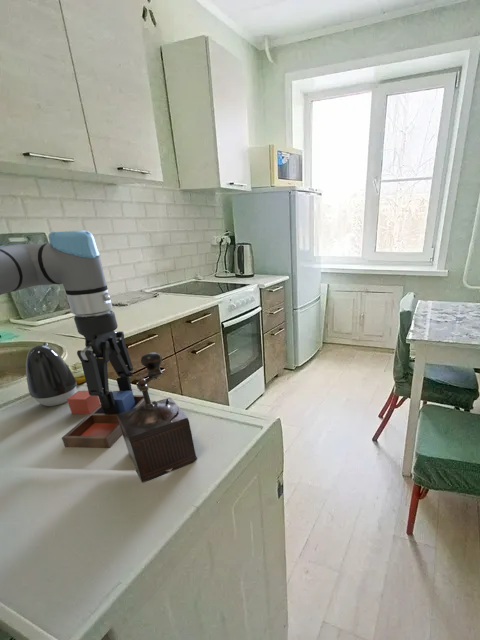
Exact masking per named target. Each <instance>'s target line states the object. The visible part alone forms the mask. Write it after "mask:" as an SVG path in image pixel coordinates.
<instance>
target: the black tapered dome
mask: <svg viewBox="0 0 480 640" xmlns="http://www.w3.org/2000/svg"><path fill="white" fill-rule="evenodd" d="M68 365H69V364H67V362H66V361H65V360H64V359H63V357H62V356H61V355H60V353H58V352H57V351H56V350H54V349H53V348H52V347H51V346H49V343H48V342H43V343H42V344H36V345H34V346H33V347H31V348H30V349H29V350H28V351H27V355H26V360H25V377H26V378H25V379H26V383H27V388H28V393H29V395H30V396H31V398H33V399H34V400H35V401H36V402H37V403H38V404H39V405H42V406H45V407H54V406H59V405H62V404H65V403H68V401H67V399H68V398H69V397H71V396H72V395H74V394H75V393H76V392H77V386H78V384H77V382H76V379H75V377H74V375H73V374H72V372H71V370H70V368H69V367H68Z"/></svg>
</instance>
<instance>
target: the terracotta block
mask: <svg viewBox="0 0 480 640" xmlns="http://www.w3.org/2000/svg"><path fill="white" fill-rule="evenodd" d="M67 401H68V402H67V404H68V407H69V409H70V413H71V415H89V414H90V413H91V412H93V411H94V410H95V409H96V408H97V407H98V406H100V405H101V403H100V400H99V397H98V396H90V395H89V392H88V390H77V391H76V393H75V394H74V395H72V396H71V397H69V398H68V399H67Z"/></svg>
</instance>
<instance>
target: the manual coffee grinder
mask: <svg viewBox="0 0 480 640" xmlns="http://www.w3.org/2000/svg"><path fill="white" fill-rule="evenodd" d="M162 361H163V356H162V355H161V354H160V353H158V352H155V351H153V352H152V351H151V352H147V353H145V354H143V355H142V357H141V358H140V362H141V365H142V366H144V367H145V368H146V369H147V378H140V379H138V381H137V384H136V387H137V388H136V389H138V391H139V392H141V393H142V395H143V397H144V400H145V404H144V405H142V406H140V407H138V408H134V409H131V410H128V411H125V412H123V413H120V414H117V418H118V421H119V424H120V428H121V431H122V437H123V440H124V443H125V446H126V449H127V452H128V456H129V458H130V460H131V462H132V464H133V466H134V468H135V470H134V471H135V473H136V474H137V476H138V478H139V480H140V481H141V483H145V482H147V481H151V480H153V479H155V478H156V479H157V478H158V477H160V476H164V475H166V474H169V473H171V472H173V471H175V470H177V469H181V468H183V467H185V466H187V465H190V464H192V463H194V462H196V461H197V460H198V457H197V454H196V449H195V445H194V439H193V435H192V429H191V424H190V420H189V418H188V417H187V415H186V414H185V412H184V411H183V410H182V409H181V408H180V406H178V404H177V402H176V401H174V400H173V398H172V397H167V398H163V399H160V400H157V401H156V400H154V401H151V397H150V394H149V389H150V387H149V386H148V385H147V384H148V383H149V382H151V381H152V380H154V379H155V380H157V379H158V377H160V376H161V375H163V373H164V372H163V371H162V370H161V363H162Z"/></svg>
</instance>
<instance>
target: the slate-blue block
mask: <svg viewBox="0 0 480 640" xmlns="http://www.w3.org/2000/svg"><path fill="white" fill-rule="evenodd" d="M111 392H112V393H113V397H114V400H115V404H116V407H117V411H118V414H120V413H123V412H125V411H128V410H131V409H133V408H134V407H135V406H136V404H135V400H134V397H133V395H134V392H133V390H132V391H119V390H113V391H111ZM132 392H133V393H132Z"/></svg>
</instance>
